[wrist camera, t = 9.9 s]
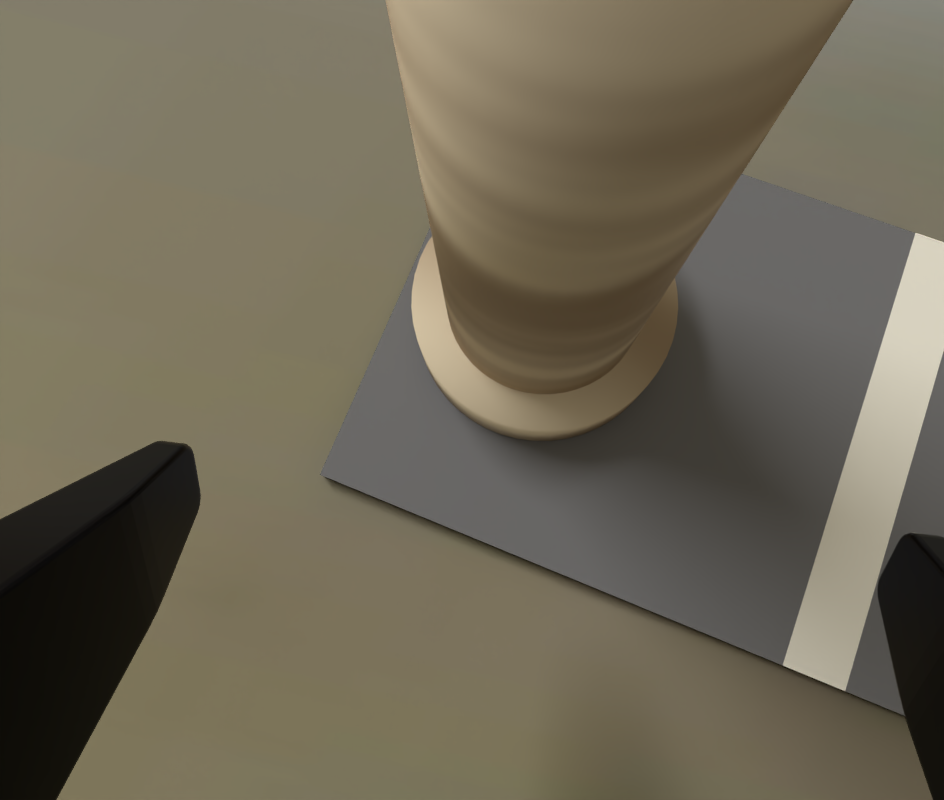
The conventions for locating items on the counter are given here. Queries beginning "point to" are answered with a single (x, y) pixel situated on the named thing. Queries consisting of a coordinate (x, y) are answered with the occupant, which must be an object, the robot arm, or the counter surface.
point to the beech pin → (578, 183)
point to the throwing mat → (715, 443)
